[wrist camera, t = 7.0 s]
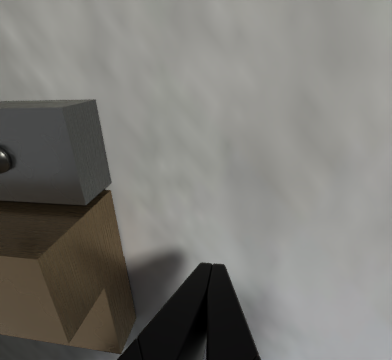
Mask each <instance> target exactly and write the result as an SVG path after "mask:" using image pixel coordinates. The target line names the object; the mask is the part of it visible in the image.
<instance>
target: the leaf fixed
mask: <svg viewBox="0 0 392 360" xmlns="http://www.w3.org/2000/svg"><path fill="white" fill-rule="evenodd" d="M110 183H111V178H110V173H109V168H108V162H107V157H106V152H105V147H104V142H103V136H102V131H101V126H100V121H99V116H98V110H97V105H96V100H49V101H1V102H0V200H1V201H18V202H36V203H53V204H70V205H87V204H88V203H89V202H90V201H91V200H92V199H94V198H95V197H96V196H97V195H98V194H99V193H100V192H101V191H103V190H104V189H105V188H106V187H107V186H108V185H109V184H110Z"/></svg>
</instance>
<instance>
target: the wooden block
mask: <svg viewBox="0 0 392 360" xmlns="http://www.w3.org/2000/svg"><path fill="white" fill-rule="evenodd" d="M135 320H136V315H135V309H134V304H133V299H132V294H131V289H130V284H129V279H128V274H127V268H126V263H125V258H124V256H123V251H122V246H121V241H120V236H119V230H118V225H117V220H116V215H115V210H114V205H113V200H112V195H111V190H103V191H101V192H100V193H99V194H98V195H97V196H96V197H95V198H94V199H92V200H91V201H90V202H89V203H88V204H87V205H70V204H53V203H36V202H18V201H1V200H0V334H1V335H7V336H13V337H20V338H26V339H32V340H38V341H44V342H50V343H56V344H62V345H68V346H75V347H81V348H87V349H93V350H99V351H105V352H111V353H117V354H121V353H122V351H123V348H124V346H125V343H126V341H127V339H128V336H129V334H130V332H131V329H132V327H133V325H134V322H135Z"/></svg>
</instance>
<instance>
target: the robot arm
mask: <svg viewBox="0 0 392 360" xmlns="http://www.w3.org/2000/svg"><path fill="white" fill-rule="evenodd" d="M137 338H138V339H137ZM137 338H136V339H135V340H134V341H133V342H132V343H131V345H130V346H129V347H128V348H127V349H126V350H125V351H124V353H123V354H122V355H121V356H120V357H119V358H118V359H117V360H203V357H204V352H205V347H206V360H261V358H260V356H259V353H258V351H257V348H256V345H255V343H254V340H253V337H252V335H251V332H250V330H249V327H248V324H247V322H246V319H245V316H244V314H243V311H242V309H241V306H240V303H239V301H238V298H237V295H236V293H235V290H234V288H233V285H232V282H231V280H230V277H229V274H228V272H227V269H226V267H225V265H224V264H213V265H212V264H211V263H200V264H199V265H198V266H197V267H196V269H195V270H194V271H193V272H192V273H191V274H190V276H189V277H188V278H187V279H186V280H185V281H184V283H183V284H182V285H181V286H180V287H179V289H178V290H177V291H176V292H175V293H174V294H173V296H172V297H171V298H170V299H169V300H168V301H167V303H166V304H165V305H164V306H163V307H162V308H161V310H160V311H159V312H158V313H157V314H156V315H155V317H154V318H153V319H152V320H151V321H150V322H149V324H148V325H147V326H146V327H145V328H144V329H143V331H142V332H141V333H140V334H139V335H138V337H137ZM206 343H207V346H206Z"/></svg>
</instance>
